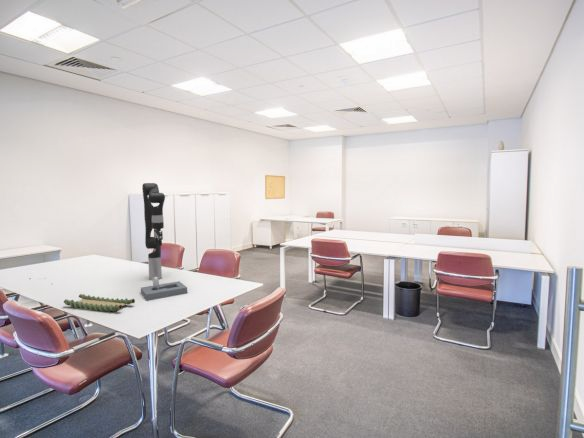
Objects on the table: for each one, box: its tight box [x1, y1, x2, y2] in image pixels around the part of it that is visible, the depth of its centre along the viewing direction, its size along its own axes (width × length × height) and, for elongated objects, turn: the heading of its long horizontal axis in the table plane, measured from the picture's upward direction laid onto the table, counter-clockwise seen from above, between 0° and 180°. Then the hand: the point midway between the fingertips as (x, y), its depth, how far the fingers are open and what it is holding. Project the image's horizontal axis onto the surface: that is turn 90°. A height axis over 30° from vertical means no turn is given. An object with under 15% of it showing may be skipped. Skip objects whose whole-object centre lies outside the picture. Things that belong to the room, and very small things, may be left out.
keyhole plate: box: [140, 280, 188, 301], centre depth 223 cm, size 18×26×4 cm
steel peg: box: [152, 276, 160, 290], centre depth 219 cm, size 6×6×12 cm
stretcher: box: [63, 293, 136, 312], centre depth 198 cm, size 41×14×5 cm, turn 76°
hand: (158, 244), depth 228 cm, fingers open, 8 cm apart
